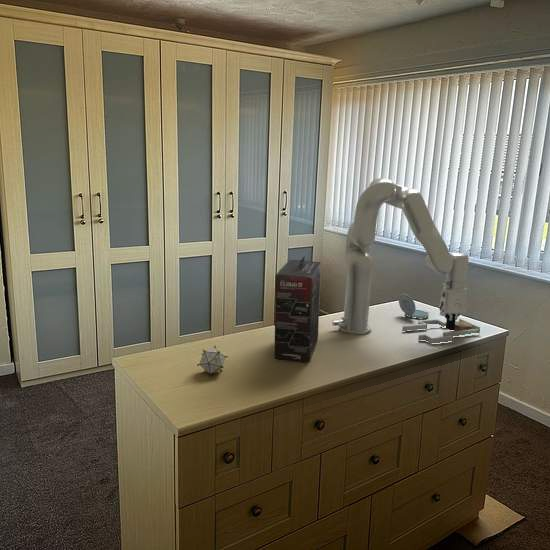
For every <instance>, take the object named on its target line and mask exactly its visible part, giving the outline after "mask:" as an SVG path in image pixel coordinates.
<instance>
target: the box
mask: <svg viewBox="0 0 550 550" xmlns="http://www.w3.org/2000/svg"><path fill="white" fill-rule="evenodd" d="M455 322H466V323H468V324H470V325H472V326H473V329H472V330H462V331H445V332H444V331H443V332H442V336H436V337H433V336H430V335H428V334H426V333H424V334H418V339H417V340H426V341H428V342H429V343H431V344H432V343H440V342H448V341H452V342H453V339H454V338H453V336H459V335H465V334H471V333H479V334H480V333H481V332H480V331H481V326H479V325H477V324H474V323H472V322H470V321H468V320H465V319H463V318H458V320H455ZM427 324H439V325H441V326H443V327H444V326H446V321H442V320H440V319H438V318H434V319H421V320H418V321H417V324H410V325H402V330H401V332H402V331H407V330H417V329H427ZM429 343H428V344H429Z"/></svg>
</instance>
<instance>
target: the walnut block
mask: <svg viewBox="0 0 550 550" xmlns="http://www.w3.org/2000/svg"><path fill="white" fill-rule="evenodd" d="M472 329H473V326H472V325H470V324H468V323H466V322H455V328H454V331H462V330H472Z"/></svg>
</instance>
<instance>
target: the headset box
mask: <svg viewBox="0 0 550 550" xmlns="http://www.w3.org/2000/svg"><path fill="white" fill-rule="evenodd" d="M305 257H306V255H304V256H303V257H302V258H301V259H289V260H288V261H287V262H286V263H285V264H284V265H283V266H282V267H281V268H280V269H279V270H278V272H277V273H276V274H275V281H274V282H275V284H274V285H275V288H274V291H275V292H274V293H275V297H274V300H275V301H274V352H273V353H274V359H273V360H275V361H283V362H284V361H285V362H292V363H303V364H304V363H305V364H309V363H310V361H311V359H312V355H313V353H314V351H315V348H316V345H317V342H318V340H319V326H320V325H319V322H320V321H319V319H320V293H321V292H320V291H321V266H322V265H321V263H322V262H321V261H312V260H305Z"/></svg>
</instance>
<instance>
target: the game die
mask: <svg viewBox="0 0 550 550" xmlns="http://www.w3.org/2000/svg"><path fill="white" fill-rule="evenodd" d="M202 352H203V353H201V359H200V361H199V363H197V364H196V366H197V367H198V366H200V367H201V368H203V369H204V370H205V371H206V372H207V373H209V376H208V377H211V376H212V374H214V373H216V372H217V373H218V371H220V372H223V370H222V369H224V366H223V365H224V363H225V359H226V358H228V357H229V356H228V355H224V354H223V353H222V352H221V351H220V350H218V349H217V346H216V345H214V346H213V348H210V349H207V350H205V349H202Z"/></svg>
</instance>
